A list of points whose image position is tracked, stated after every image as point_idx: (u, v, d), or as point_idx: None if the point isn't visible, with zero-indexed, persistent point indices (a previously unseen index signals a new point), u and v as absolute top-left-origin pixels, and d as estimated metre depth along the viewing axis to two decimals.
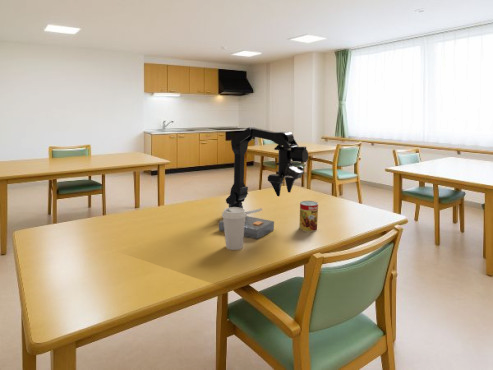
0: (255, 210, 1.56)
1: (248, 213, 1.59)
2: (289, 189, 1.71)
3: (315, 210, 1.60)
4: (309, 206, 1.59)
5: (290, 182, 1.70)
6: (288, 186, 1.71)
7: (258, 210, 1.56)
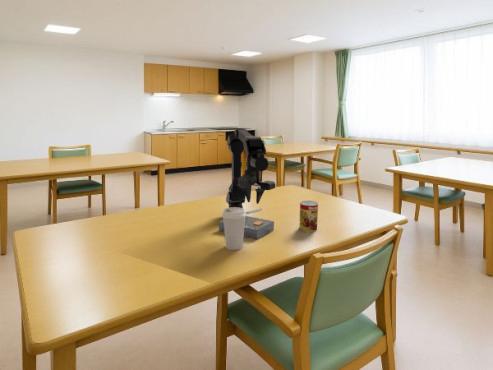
0: (255, 210, 1.56)
1: (248, 213, 1.59)
2: None
3: (315, 210, 1.60)
4: (309, 206, 1.59)
5: None
6: None
7: (258, 210, 1.56)
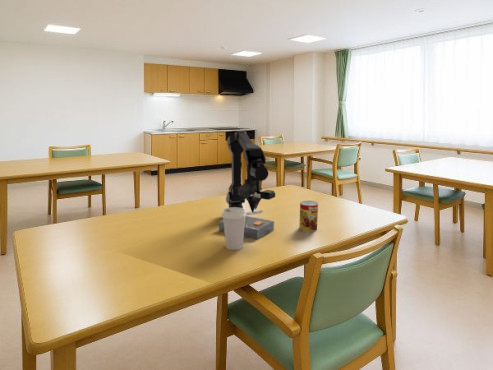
0: (256, 212, 1.57)
1: (248, 214, 1.59)
2: None
3: (315, 210, 1.60)
4: (309, 206, 1.59)
5: None
6: None
7: (259, 212, 1.56)
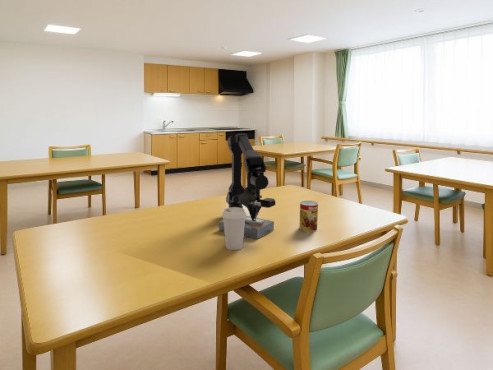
0: (257, 221, 1.57)
1: (249, 221, 1.59)
2: None
3: (315, 210, 1.60)
4: (309, 206, 1.59)
5: None
6: None
7: (260, 222, 1.56)
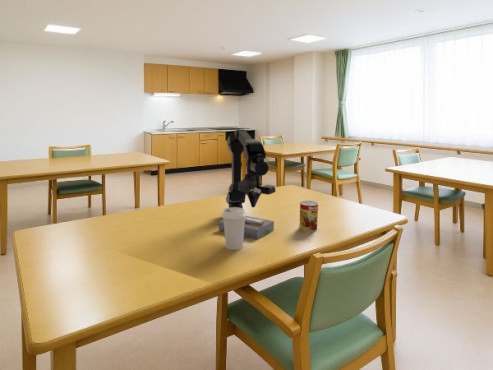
0: (257, 221, 1.57)
1: (249, 221, 1.59)
2: None
3: (315, 210, 1.60)
4: (309, 206, 1.59)
5: None
6: None
7: (260, 222, 1.56)
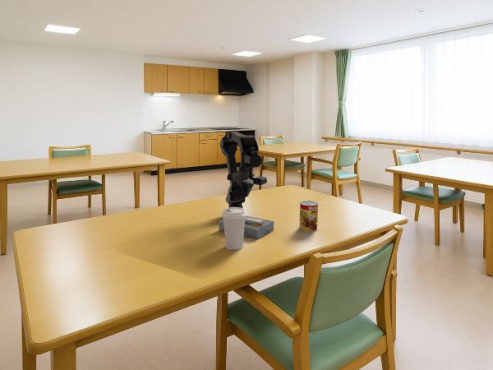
0: (257, 221, 1.57)
1: (249, 221, 1.59)
2: None
3: (315, 210, 1.60)
4: (309, 206, 1.59)
5: None
6: None
7: (260, 222, 1.56)
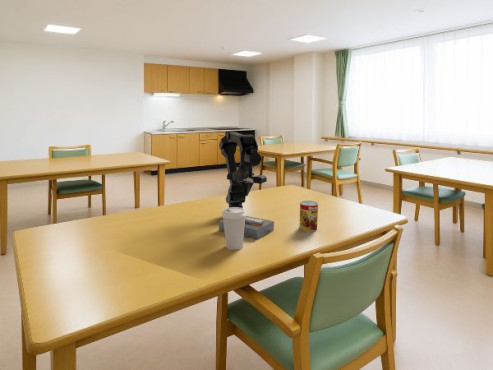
0: (257, 221, 1.57)
1: (249, 221, 1.59)
2: None
3: (315, 210, 1.60)
4: (309, 206, 1.59)
5: None
6: None
7: (260, 222, 1.56)
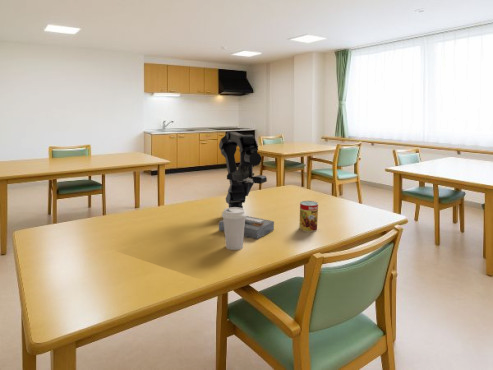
0: (257, 221, 1.57)
1: (249, 221, 1.59)
2: None
3: (315, 210, 1.60)
4: (309, 206, 1.59)
5: None
6: None
7: (260, 222, 1.56)
